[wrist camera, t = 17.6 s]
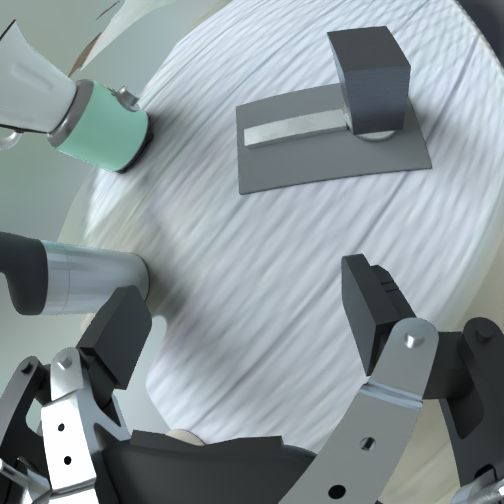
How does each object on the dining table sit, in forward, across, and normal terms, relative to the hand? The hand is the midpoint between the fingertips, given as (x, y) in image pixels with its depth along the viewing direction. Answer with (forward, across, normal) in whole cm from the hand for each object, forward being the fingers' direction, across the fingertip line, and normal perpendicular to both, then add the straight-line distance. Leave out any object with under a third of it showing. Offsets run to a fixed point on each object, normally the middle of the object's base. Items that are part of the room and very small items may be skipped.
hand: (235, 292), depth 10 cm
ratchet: (+26, -9, -4) cm, 28 cm away
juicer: (+41, +23, -7) cm, 47 cm away
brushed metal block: (+24, -15, -5) cm, 29 cm away
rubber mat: (+27, -10, -3) cm, 29 cm away
